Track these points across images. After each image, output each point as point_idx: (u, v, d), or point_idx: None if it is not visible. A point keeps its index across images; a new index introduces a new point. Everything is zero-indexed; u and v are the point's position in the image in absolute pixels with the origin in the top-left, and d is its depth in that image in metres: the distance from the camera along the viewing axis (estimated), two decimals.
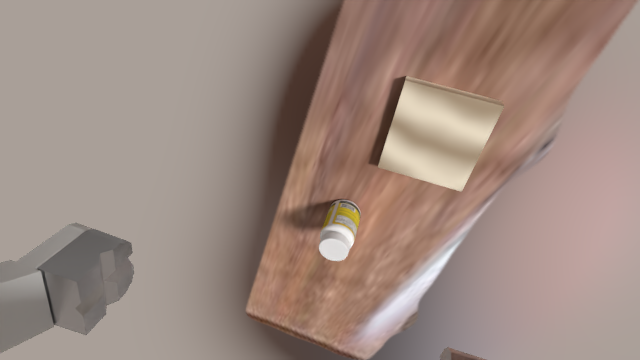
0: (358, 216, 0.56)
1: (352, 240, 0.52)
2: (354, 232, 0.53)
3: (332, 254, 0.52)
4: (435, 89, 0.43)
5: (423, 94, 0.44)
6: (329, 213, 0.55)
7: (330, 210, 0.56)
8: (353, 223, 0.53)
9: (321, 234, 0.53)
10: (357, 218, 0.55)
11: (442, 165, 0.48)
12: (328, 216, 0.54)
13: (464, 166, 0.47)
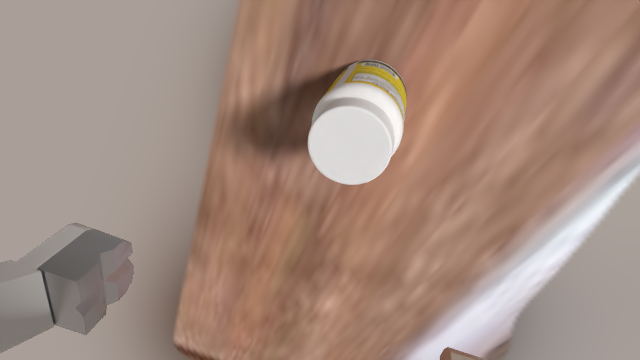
0: (404, 94, 0.23)
1: (399, 129, 0.19)
2: (403, 113, 0.20)
3: (346, 163, 0.18)
4: None
5: None
6: None
7: None
8: (399, 94, 0.21)
9: (315, 117, 0.20)
10: (404, 96, 0.22)
11: None
12: (332, 84, 0.22)
13: None
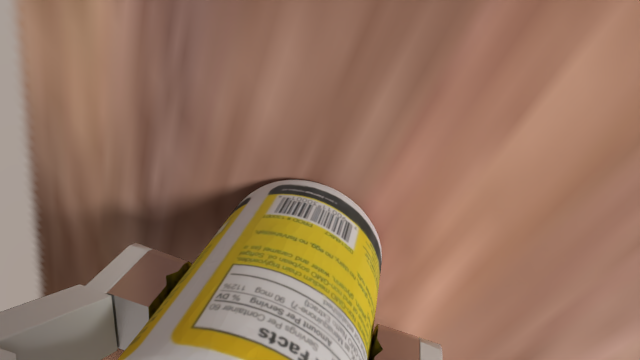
0: (374, 271, 0.10)
1: None
2: None
3: None
4: None
5: None
6: (202, 253, 0.09)
7: (215, 235, 0.10)
8: (350, 324, 0.08)
9: None
10: (372, 286, 0.09)
11: None
12: (188, 272, 0.09)
13: None
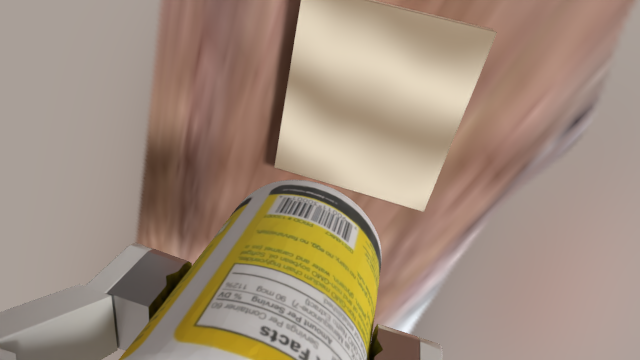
0: (374, 270, 0.10)
1: None
2: None
3: None
4: (361, 2, 0.22)
5: (339, 14, 0.22)
6: (204, 252, 0.09)
7: (217, 235, 0.10)
8: (350, 323, 0.08)
9: None
10: (372, 285, 0.09)
11: (386, 161, 0.26)
12: (189, 271, 0.09)
13: (426, 162, 0.25)
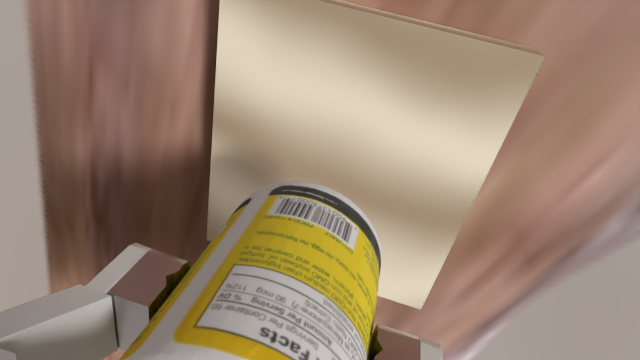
0: (374, 271, 0.10)
1: None
2: None
3: None
4: (317, 4, 0.13)
5: (282, 24, 0.14)
6: (204, 253, 0.09)
7: (216, 236, 0.10)
8: (350, 323, 0.08)
9: None
10: (372, 286, 0.09)
11: None
12: (189, 272, 0.09)
13: (424, 246, 0.17)
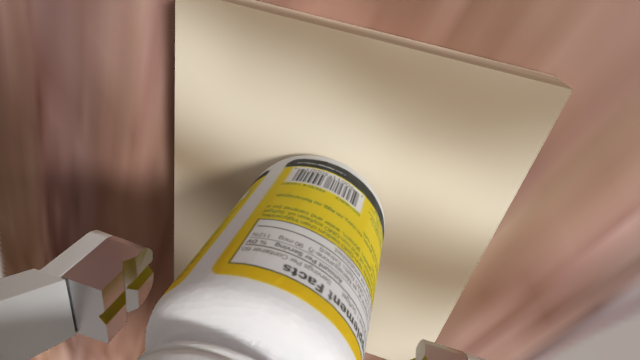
0: (378, 234, 0.11)
1: None
2: (362, 328, 0.08)
3: None
4: (291, 23, 0.11)
5: (250, 46, 0.11)
6: (229, 214, 0.11)
7: (239, 201, 0.11)
8: (357, 270, 0.09)
9: (147, 341, 0.08)
10: (376, 245, 0.11)
11: None
12: (218, 229, 0.10)
13: (423, 303, 0.14)
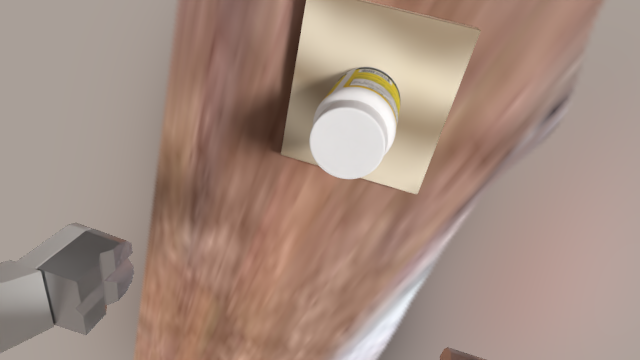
0: (398, 98, 0.25)
1: (392, 129, 0.21)
2: (396, 115, 0.22)
3: (344, 159, 0.20)
4: (360, 4, 0.24)
5: (340, 14, 0.25)
6: None
7: (336, 83, 0.25)
8: (392, 98, 0.23)
9: (316, 118, 0.22)
10: (398, 100, 0.24)
11: None
12: (332, 89, 0.24)
13: (419, 149, 0.28)
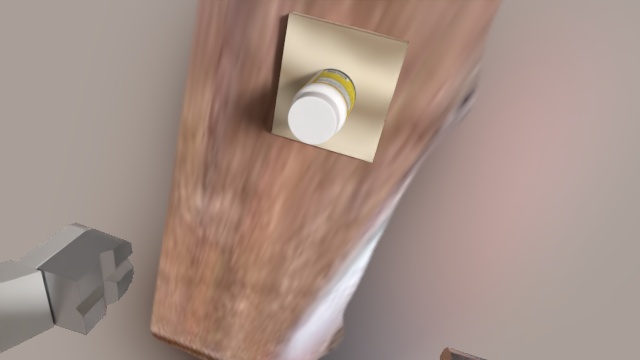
0: (353, 91, 0.35)
1: (344, 111, 0.31)
2: (347, 102, 0.32)
3: (310, 130, 0.31)
4: (325, 24, 0.35)
5: (312, 31, 0.35)
6: None
7: None
8: (346, 91, 0.33)
9: (293, 104, 0.32)
10: (352, 92, 0.35)
11: (345, 127, 0.39)
12: None
13: (371, 128, 0.38)
